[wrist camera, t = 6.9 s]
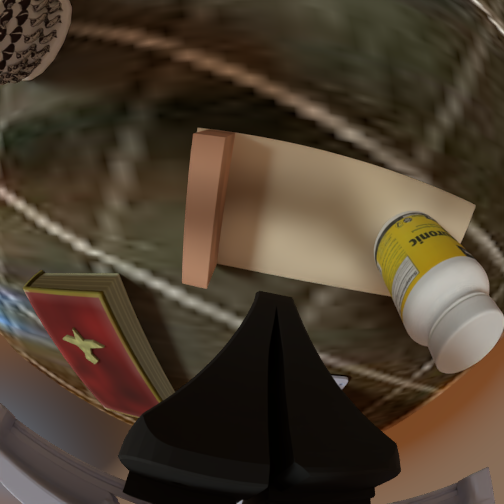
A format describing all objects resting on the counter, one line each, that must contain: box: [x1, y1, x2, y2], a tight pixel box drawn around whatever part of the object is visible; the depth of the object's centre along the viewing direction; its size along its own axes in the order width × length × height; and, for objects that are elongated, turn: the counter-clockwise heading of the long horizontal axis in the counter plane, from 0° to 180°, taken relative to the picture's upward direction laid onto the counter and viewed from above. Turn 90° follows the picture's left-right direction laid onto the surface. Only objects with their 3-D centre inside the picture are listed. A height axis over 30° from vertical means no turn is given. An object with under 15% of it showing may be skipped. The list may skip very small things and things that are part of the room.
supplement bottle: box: [374, 211, 504, 373], centre depth 13 cm, size 5×5×10 cm
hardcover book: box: [23, 270, 175, 418], centre depth 25 cm, size 12×21×4 cm, turn 6°
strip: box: [182, 128, 476, 296], centre depth 16 cm, size 9×20×3 cm, turn 81°
